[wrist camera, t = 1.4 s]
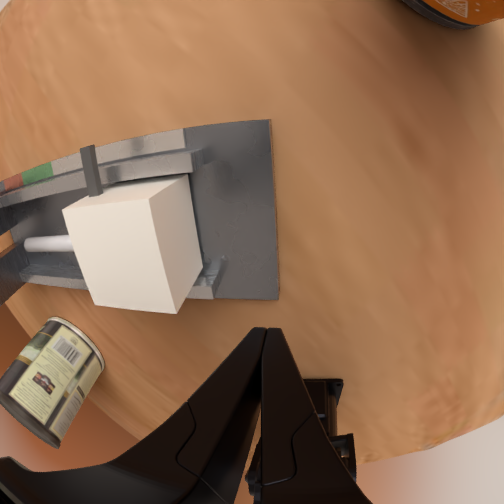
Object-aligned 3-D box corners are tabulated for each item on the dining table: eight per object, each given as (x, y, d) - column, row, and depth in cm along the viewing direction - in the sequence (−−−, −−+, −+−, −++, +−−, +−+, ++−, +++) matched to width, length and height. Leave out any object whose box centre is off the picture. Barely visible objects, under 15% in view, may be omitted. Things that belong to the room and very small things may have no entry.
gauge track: (279, 289, 21) (270, 364, 14) (35, 276, 25) (-3, 311, 19) (270, 119, 15) (253, 120, 9) (5, 179, 20) (-44, 204, 13)
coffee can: (55, 351, 33) (10, 415, 20) (41, 304, 28) (-22, 376, 15) (109, 382, 33) (67, 458, 20) (101, 338, 28) (40, 431, 15)
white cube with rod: (202, 267, 19) (176, 313, 14) (58, 263, 21) (24, 292, 17) (181, 125, 15) (137, 132, 10) (30, 166, 17) (-13, 185, 13)
